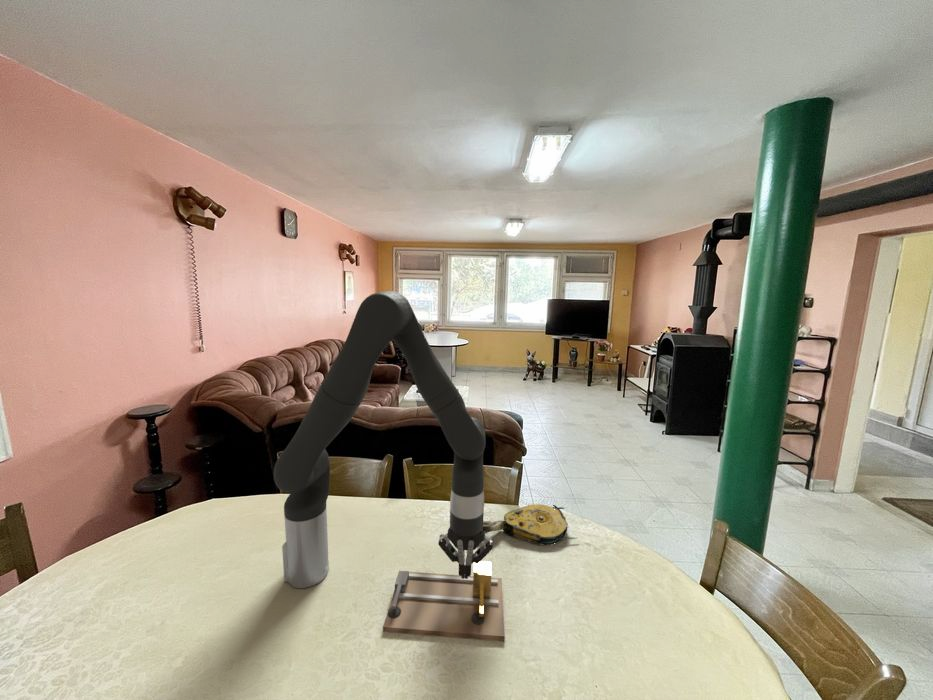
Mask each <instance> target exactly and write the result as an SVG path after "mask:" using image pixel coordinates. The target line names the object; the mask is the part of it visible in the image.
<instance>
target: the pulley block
mask: <svg viewBox="0 0 933 700" xmlns="http://www.w3.org/2000/svg"><path fill="white" fill-rule="evenodd" d="M552 506H553V507H552ZM552 506H550V505H546V504H536V503H535V504H529V505H526V506H523V507H519V508H516V509H513V510H511V511H507V513H505V514H504V516H503V520H495V521H493V520H492V521H491V520H483V530H484V531H485V533H489V532H497V531H503V533H504V534H505V535H507V536H508V537H511V538H514V539H517V540H521V541H524V542H528V543H530V544H534V545H536V546H541V545H542V544H544V545H543V546H552V545H551V544H553V545H555V544H554V543H556V544H557V543H559V542H562V540H568V539H569V540H570V539H571V540H575V539H578V537H566V533H567V532H568V528H569V527H568V526H569V525H568V523H567V519H566V516H564V513H563V512H562V509H565V507H558V506H557V505H555V504H553V505H552ZM554 509H555V510H554ZM540 544H541V545H540Z"/></svg>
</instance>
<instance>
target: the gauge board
mask: <svg viewBox="0 0 933 700" xmlns="http://www.w3.org/2000/svg"><path fill="white" fill-rule="evenodd" d="M473 576H474V575H470V576H468V579H465V578H464V579H461V576H459V574H449V573H448V574H447V573H446V574H445V573H434V572H418V571H417V572H416V571H408V570H399V571H398V573H397V576H396V579H395V582H394V591H393V594H392V597H391V600H390V603H389V607H388V610H387V612H386V615H385V619H384V622H383V626H382V632H383V633H395V634H407V635H417V636H418V635H419V636H432V637H443V638H457V639H469V640H470V639H471V640H482V641H493V642H495V641H496V642H505V636H506V635H505V622H504V620H505V617H504V600H503V598H504V597H503V581H502V580H503V579H502V578H501V577H492V576H491V596H490V599H488V598H484V599H483V618H482V619H480V618H479V612H480V598H474V597H473Z"/></svg>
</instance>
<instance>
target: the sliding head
mask: <svg viewBox="0 0 933 700" xmlns="http://www.w3.org/2000/svg"><path fill="white" fill-rule="evenodd" d="M472 576H473V597H474V598H480V612H479V618H480V619H482V618H483V599H484V598H488V599H490V596H491V577H492V562H491V561H485V560H484V561H483V560H481V561H480V562H479V563H478V564H476V563H473V575H472Z"/></svg>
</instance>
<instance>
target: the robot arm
mask: <svg viewBox="0 0 933 700" xmlns="http://www.w3.org/2000/svg"><path fill="white" fill-rule="evenodd" d="M391 341H393V343H395V345H396V346H397V347H398V349H399V350H400V352H401V354H402V355H403V357H404V358H405V361H406V363H407V365H408V368H409V370H410V374H411V376H412V379H413V381H414V384H415V387H416V388H417V391H418V392H419V394H420V396H421V398H422V399H423V400H424V403H426V406H427V407H428V408H429V410H430V411H431V413H432V414H433V415H434V417H435V418H436V419H437V421H438V424H439V425H440V427H441V430H442V432H443V435H444V436H445V439H446V441H447V443H448V445H449V447H451V449H452V450H453V456H454V457H453V466H452V472H451V474H452V475H451V492H450V499H449V500H450V501H449V503H450V504H449V505H450V507H449V508H450V509H449V528H448V529H447V533H445V534H443V533H442V534H440V535H439V538H438V541H437V542H438V543H437V545H438V546H439V547H440V549H441V550H442V552H444V554H445V555H446V556H447V558H449V560H450V561H451V562H453V563H457V564H458V575H459V576H461V579H464V578H465V579H468V576H472V564H474V563H476V564H478V563H479V562H480V561H483V559H484V558H485V557H486V556H487V555H488V554H489V553H491V551H492V550H493V549H494V539H493V537H488V536H486V532H485V531H484V530H483V521H484V516H485V515H484V513H485V512H484V511H485V494H484V484H485V483H484V482H485V480H484V479H485V473H484V472H485V471H484V452H485V448H486V440H487V439H486V431H485V427H484V425H483V423H482V422H481V420H479V419H478V418H476V417H473V416H471V415H470V413H469V412H468V411H467V409H466V403H465V401H464V399H463V397H462V394H461V393H460V392H459V390H458V389H457V387H456V386H455V384H454V383H453V381H452V380H451V378H450V377H449V375H448V374H447V372H446V370H445V368H443V366H442V363H441V362H440V361H439V360H438V358H437V356H436V354H435V353H434V351H433V349H432V348H431V345H430V343H429V342H428V340H427V338H426V336H425V334H424V331H423V330H422V328H421V326H420V324H419V321H418V319H417V317H416V314H415V312H414V309H413V307H412V305H411V304H410V301H409V300H408V299H407V298H406V296H404V295H403V294H402V293H400V292H397V291H395V290H385V291H379V292H374V293H371V294H369V295H368V296H367V297H365V298H364V300H363V301H362V302H361V303H360V305H359V306H358V309H357V311H356V314H355V317H354V319H353V322H352V324H351V327H350V329H349V331H348V335H347V337H346V339H345V342H344V343H343V345H342V348H341V350H340V351H339V353H338V355H337V356H336V358H335V360H334V361H333V363H332V365H331V366H330V368H329V370H328V372H327V374H326V375H325V377H324V378H323V381H322V382H321V384H320V386H319V388H318V390H317V391H316V393H315V395H314V397H313V399H312V401H311V404H310V406H309V407H308V409H307V411H306V413H305V415H304V417H303V418H302V421H301V423H300V425H299V427H298V429H297V430H296V432H295V434H294V436H293V437H292V439H291V440H290V441H289V443H288V444H287V446H286V447H285V449H284V450H283V451H282V453H281V454H280V455H279V457H278V459H277V460H276V462H275V464H274V467H273V481H274V483H275V485H276V487H277V488H278V489H279V490H280V491H281V492H283V493H287V494H288V496H287V498H286V500H285V501H284V504H283V515H284V516H283V517H284V528H285V529H284V531H285V532H284V534H285V542H284V543H283V544H282V546H281V547H282V549H281V550H282V566H283V567H282V568H283V581H284V583H289V585H290V586H291V587H293V588H296V589H307V588H310V587H313V586H316V585H318V584H319V583H320V582H322V581H323V580H324V579H325V578H326V576H327V575H328V573H329V569H330V567H329V566H330V564H329V563H330V561H329V538H328V515H327V514H328V513H327V512H328V511H327V509H328V508H327V501H328V498H329V495H330V485H331V484H330V483H331V481H330V480H331V479H330V477H331V473H330V472H331V463H330V457H329V453H328V452H327V450H326V448H327V447H328V446H329V445H330V444H331V443H332V441H333V440H334V439H335V438H336V437H338V435H339V434H340V433H341V432H342V430H343V429H344V428H346V426H347V425H348V424H349V423H350V421H351V420H352V418H353V417H354V415H355V414H356V412H357V411H358V409H359V407H360V406H361V404H362V402H363V400H364V398H365V396H366V394H367V393H368V389H369V385H370V382H371V379H372V378H371V377H372V374H373V371H374V368H375V365H376V363H377V361H378V360H379V358H380V356H381V355H382V353H384V350H385V349H386V347H387V346H388V345H389V344H390V342H391ZM465 551H467V552H465ZM465 553H466V556H465Z"/></svg>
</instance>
